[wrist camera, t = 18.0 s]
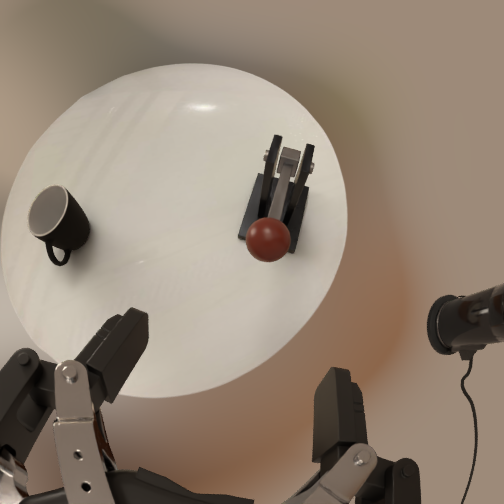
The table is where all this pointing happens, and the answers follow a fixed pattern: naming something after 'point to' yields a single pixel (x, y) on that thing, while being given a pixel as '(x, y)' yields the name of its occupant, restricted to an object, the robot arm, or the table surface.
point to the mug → (58, 221)
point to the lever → (274, 216)
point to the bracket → (266, 191)
